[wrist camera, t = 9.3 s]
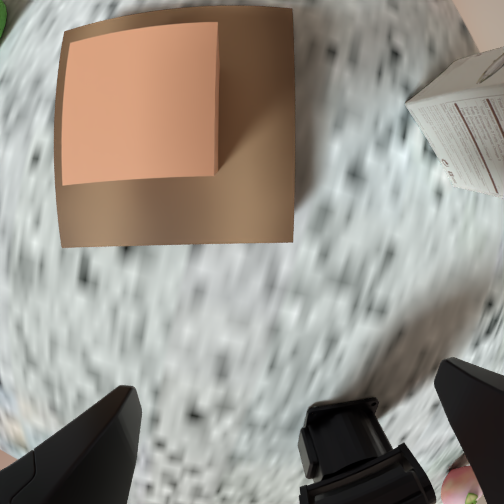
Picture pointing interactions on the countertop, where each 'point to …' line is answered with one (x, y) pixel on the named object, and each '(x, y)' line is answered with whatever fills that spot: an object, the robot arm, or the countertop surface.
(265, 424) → the countertop surface
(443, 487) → the decorative fruit
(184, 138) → the terracotta cube
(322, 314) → the countertop surface
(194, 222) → the walnut block
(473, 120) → the supplement box
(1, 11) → the wine bottle
